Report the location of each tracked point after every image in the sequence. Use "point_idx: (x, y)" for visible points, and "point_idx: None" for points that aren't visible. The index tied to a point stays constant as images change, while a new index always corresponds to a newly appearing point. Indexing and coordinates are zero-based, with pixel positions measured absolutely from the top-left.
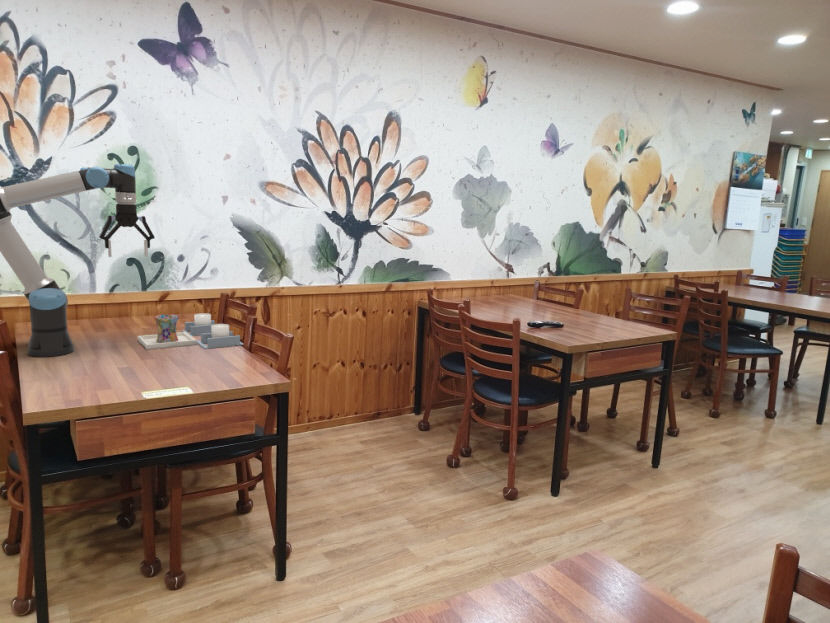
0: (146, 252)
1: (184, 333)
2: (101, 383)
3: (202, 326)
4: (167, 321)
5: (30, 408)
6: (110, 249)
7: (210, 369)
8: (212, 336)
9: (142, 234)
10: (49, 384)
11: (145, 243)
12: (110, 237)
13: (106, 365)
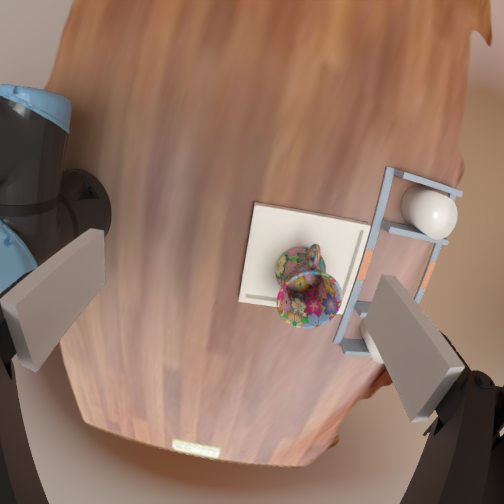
0: (378, 341)
1: (360, 241)
2: (137, 404)
3: (412, 237)
4: (297, 321)
5: (82, 416)
6: (72, 315)
7: (272, 423)
8: (365, 337)
9: (412, 480)
10: (85, 375)
11: (401, 399)
12: (17, 393)
13: (149, 348)
